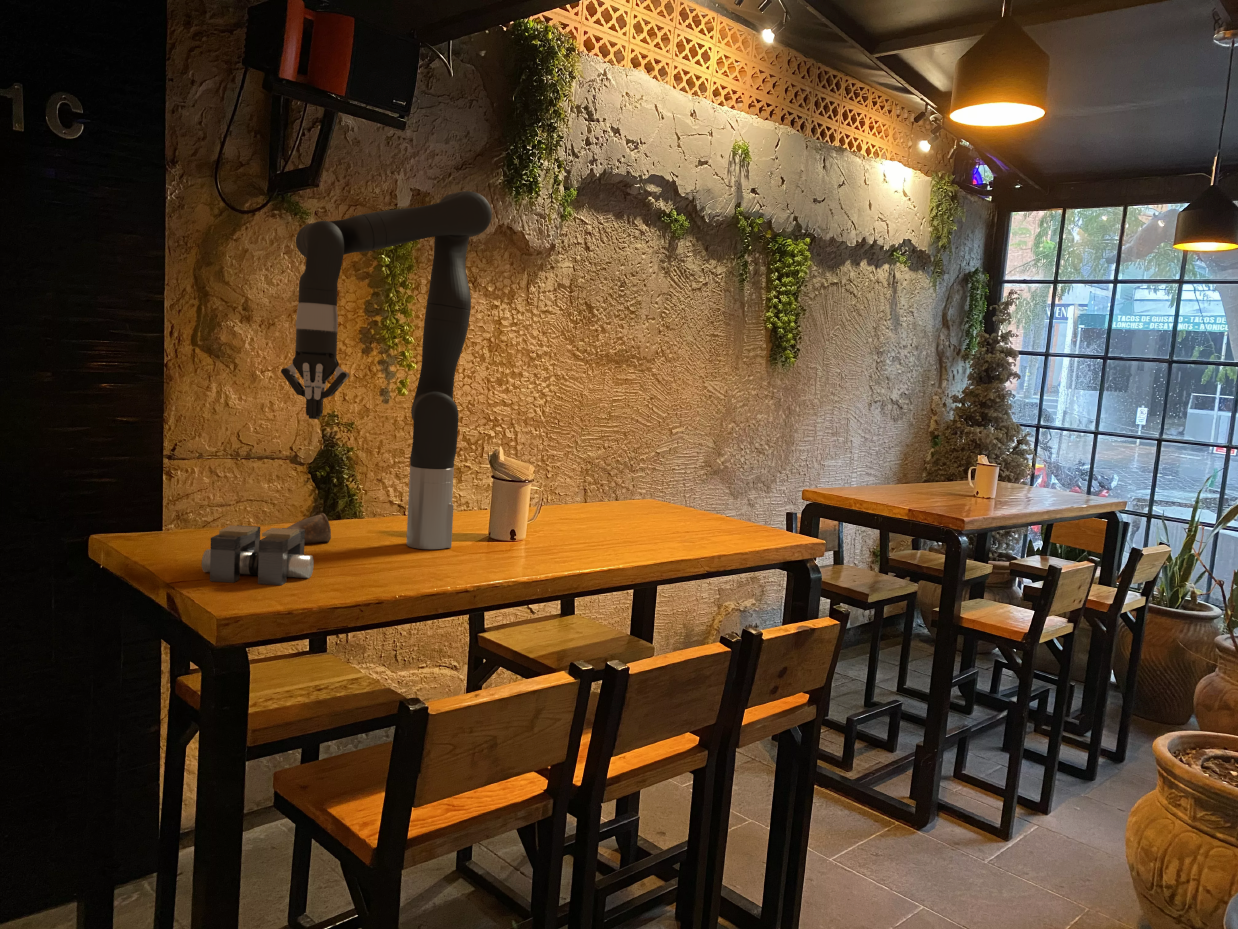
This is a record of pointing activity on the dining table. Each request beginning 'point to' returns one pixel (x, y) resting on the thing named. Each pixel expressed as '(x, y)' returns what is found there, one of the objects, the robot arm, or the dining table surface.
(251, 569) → the tube
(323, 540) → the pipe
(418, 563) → the dining table surface
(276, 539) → the grey u-shaped stands
